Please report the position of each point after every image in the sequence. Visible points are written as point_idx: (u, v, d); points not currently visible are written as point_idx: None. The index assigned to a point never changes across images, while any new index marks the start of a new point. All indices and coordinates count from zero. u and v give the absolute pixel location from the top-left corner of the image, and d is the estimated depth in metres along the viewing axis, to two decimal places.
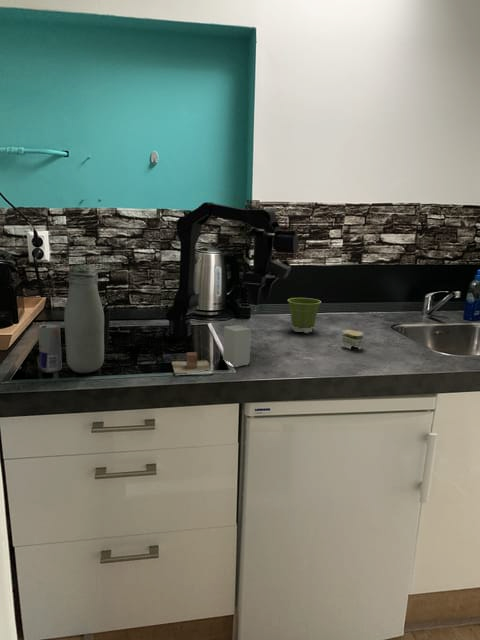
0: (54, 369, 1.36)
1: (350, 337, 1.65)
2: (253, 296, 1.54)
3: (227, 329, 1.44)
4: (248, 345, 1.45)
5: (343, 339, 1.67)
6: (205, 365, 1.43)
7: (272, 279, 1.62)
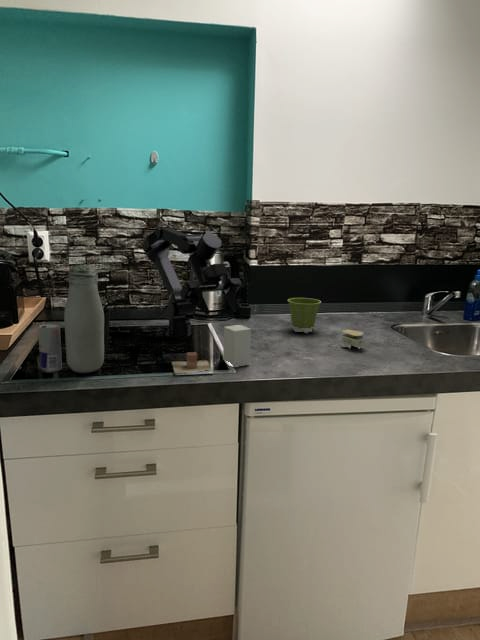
0: (54, 369, 1.36)
1: (350, 337, 1.65)
2: (201, 307, 1.49)
3: (227, 329, 1.44)
4: (248, 345, 1.45)
5: (343, 339, 1.67)
6: (205, 365, 1.43)
7: (230, 289, 1.55)
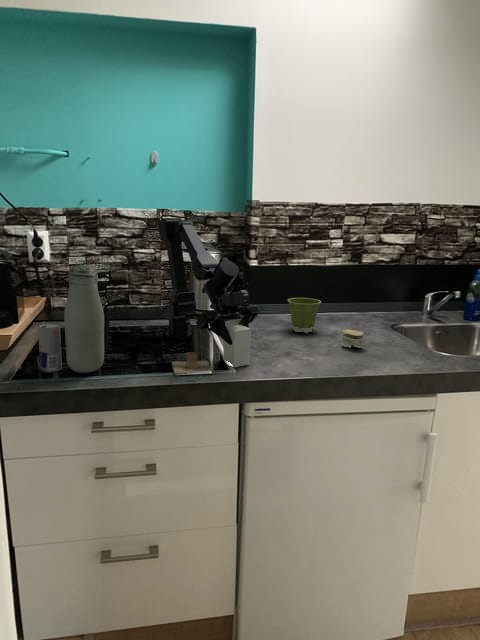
0: (54, 369, 1.36)
1: (350, 337, 1.65)
2: (223, 337, 1.44)
3: (227, 329, 1.44)
4: (248, 345, 1.45)
5: (343, 339, 1.67)
6: (205, 365, 1.43)
7: (243, 318, 1.48)
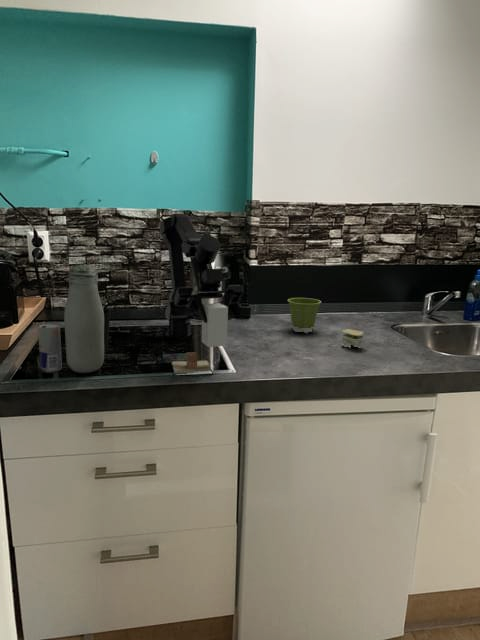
0: (54, 369, 1.36)
1: (350, 337, 1.65)
2: (199, 314, 1.39)
3: (204, 306, 1.39)
4: (225, 324, 1.39)
5: (343, 339, 1.68)
6: (205, 365, 1.43)
7: (223, 296, 1.42)
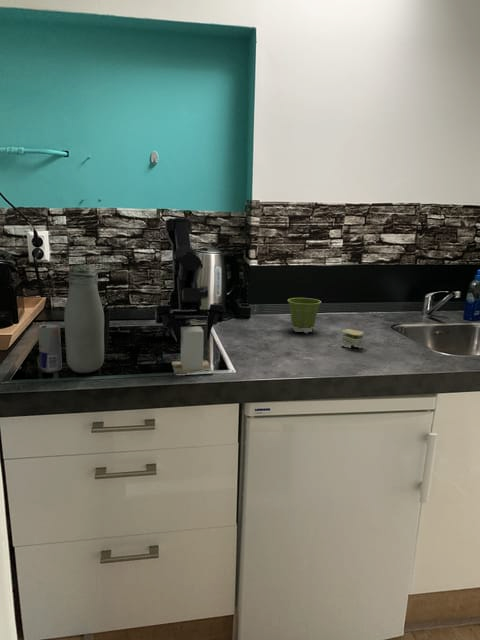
0: (54, 369, 1.36)
1: (350, 336, 1.65)
2: (172, 333, 1.39)
3: (181, 329, 1.39)
4: (201, 348, 1.38)
5: (343, 338, 1.68)
6: (205, 365, 1.43)
7: (208, 315, 1.41)
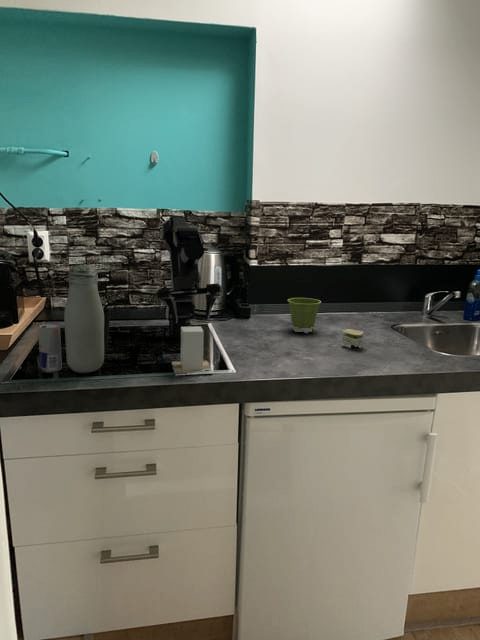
0: (54, 369, 1.36)
1: (350, 336, 1.65)
2: None
3: (181, 329, 1.39)
4: (201, 348, 1.38)
5: (343, 338, 1.68)
6: (205, 365, 1.43)
7: None
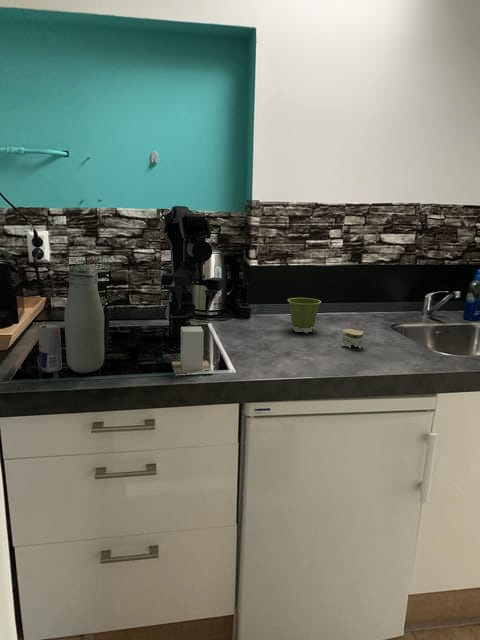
0: (54, 369, 1.36)
1: (350, 336, 1.66)
2: None
3: (181, 329, 1.39)
4: (201, 348, 1.38)
5: (343, 338, 1.68)
6: (205, 365, 1.43)
7: None
